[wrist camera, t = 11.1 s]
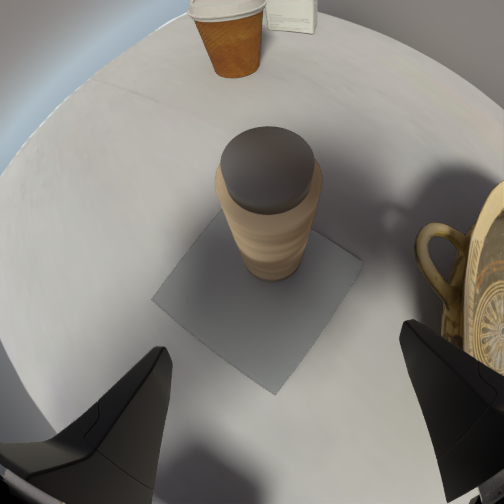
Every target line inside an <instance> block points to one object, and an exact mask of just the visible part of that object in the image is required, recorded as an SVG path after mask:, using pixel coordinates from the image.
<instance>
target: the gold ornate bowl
mask: <svg viewBox="0 0 504 504" xmlns="http://www.w3.org/2000/svg"><path fill="white" fill-rule="evenodd" d="M435 236H440V237H443V238H445V239H447V240H449V241H451V242H452V244H453V245H454V246H455V247H456V249H457V250H458V251H457V254H456V257H455V259H454V262H453V264H452V268H451V271H450V275H449V278H448V283H447V282H446V281H445V279H444V278H443V277H442V276H441V274H440V273H439V272H438V271H437V269H436V268H435V266H434V264H433V262H432V260H431V258H430V256H429V252H428V242H429V240H430V239H431V238H432V237H435ZM414 252H415V257H416V261H417V264H418V266H419V269H420V271H421V272H422V274H423V276H424V277H425V279H426V280H427V282H428V284H429V285H430V286H431V287H432V289H433V290H434V291H435V292H436V294H437V295H438V296H439V297H440V299H441V300H442V301H443V303H444V305H443V313H442V328H441V337H443V338H445V339H446V340H448V341H449V342H451V343H452V344H454V345H456V346H457V347H459V348H460V349H462V350H463V351H465V352H466V353H468V354H469V355H471V356H472V357H474V358H476V359H477V360H478V361H480V362H482V363H483V364H485V365H486V366H488V367H489V368H491V369H493V370H494V371H496V372H498V373H500V374H501V375H503V376H504V180H503V181H502V182H500V183H499V184H498V185H497V186H496V187H495V188H494V189H493V190H492V191H491V193H490V194H489V196H488V197H487V199H486V201H485V203H484V205H483V207H482V209H481V212H480V214H479V216H478V218H477V221H476V222H475V223H474V225H473V226H472V227H471V229H470V230H469V231H468V233H467V234H466V235H464V234H462V233H461V232H459V231H458V230H456V229H454V228H452V227H450V226H448V225H446V224H442V223H439V222H435V223H429V224H426V225H425V226H424V227H422V228H421V230H420V231H419V233H418V235H417V237H416V241H415V246H414Z"/></svg>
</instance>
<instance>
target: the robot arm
mask: <svg viewBox="0 0 504 504" xmlns="http://www.w3.org/2000/svg"><path fill="white" fill-rule="evenodd" d="M399 341H400V345H401V349H402V352H403V356H404V359H405V363H406V367H407V370H408V374H409V377H410V379H411V382H412V385H413V387H414V390H415V393H416V395H417V398H418V401H419V404H420V407H421V410H422V413H423V416H424V419H425V422H426V425H427V428H428V431H429V434H430V437H431V441H432V444H433V448H434V451H435V455H436V458H437V460H438V461H437V463H438V466H439V470H440V474H441V478H442V483H443V487H444V492H445V496H446V501H447V503H449V502H451V501H453V500H455V499H457V498H459V497H460V496H462V495H464V494H466V493H468V492H469V491H471V490H473V489H474V488H476V487H477V488H478V491H479V495H477V496H476V497H474V498H473V499H471V500H470V502H469V504H504V376H503V375H501V374H500V373H498V372H496V371H494V370H493V369H491V368H489V367H488V366H486V365H485V364H483V363H482V362H480V361H478V360H477V359H476V358H474V357H472V356H471V355H469V354H468V353H466V352H465V351H463V350H462V349H460V348H459V347H457V346H456V345H454V344H452V343H451V342H449V341H448V340H446V339H445V338H443V337H441V336H440V335H438V334H437V333H435V332H434V331H432V330H430V329H429V328H427V327H426V326H424V325H422V324H421V323H419V322H418V321H416V320H414V319H411V320H406V321H404V322H403V325H402V329H401V333H400V337H399ZM172 368H173V364H172V360H171V358H170V355H169V353H168V351H167V349H166V348H165V347H164V346H156V347H154V348H153V349H152V350H151V351H149V352H148V353H147V354H146V355H145V356H144V357H143V358H142V359H141V360H140V361H139V362H138V363H137V364H136V365H135V366H134V367H133V368H132V369H131V370H129V371H128V372H127V373H126V374H125V375H124V376H123V377H122V378H121V379H120V380H119V381H118V382H117V383H116V384H115V385H114V386H113V387H112V388H111V389H110V390H108V391H107V392H106V393H105V394H104V395H103V396H102V397H101V398H100V399H99V400H98V402H96V403H95V404H94V405H93V406H92V407H90V408H89V409H88V410H87V411H86V412H85V413H84V414H83V415H81V416H80V417H79V418H78V419H77V420H75V421H74V422H73V423H71V424H70V425H69V426H68V427H66V428H65V429H64V430H62V431H61V432H60V433H58V434H57V435H56V436H54V437H53V438H51V439H49V440H46V441H42V442H30V443H0V464H1V465H2V466H4V467H5V468H6V472H5V475H4V477H3V476H2V475H0V504H151V503H152V496H153V491H152V490H153V489H154V482H155V476H156V470H157V464H158V458H159V452H160V447H161V441H162V436H163V430H164V425H165V420H166V415H167V410H168V405H169V400H170V389H171V378H172Z"/></svg>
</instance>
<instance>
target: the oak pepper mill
mask: <svg viewBox="0 0 504 504" xmlns="http://www.w3.org/2000/svg"><path fill="white" fill-rule="evenodd" d="M215 189H216V193H217V196H218V198H219V201H220V203H221V206H222V209H223V211H224V214H225V216H226V219H227V221H228V224H229V226H230V229H231V231H232V234H233V236H234V239H235V242H236V244H237V247H238V249H239V252H240V254H241V257H242V259H243V262H244V264H245V266H246V268H247V269H248V271H249V272H250V273H251V274H252V275H253V276H255V277H256V278H258V279H261V280H264V281H268V282H276V281H281V280H284V279H286V278H288V277H290V276H291V275H292V274H293V273H294V272H295V271H296V270H297V269H298V267H299V265H300V263H301V260H302V257H303V253H304V250H305V247H306V243H307V240H308V236H309V233H310V229H311V226H312V222H313V219H314V215H315V211H316V208H317V204H318V200H319V196H320V193H321V189H322V173H321V170H320V167H319V164H318V163H317V161H316V159H315V158H314V155H313V152H312V150H311V148H310V146H309V145H308V144H307V142H306V141H305V140H304V139H303V138H301V137H300V136H299V135H297V134H296V133H294V132H292V131H290V130H287V129H284V128H279V127H270V126H266V127H257V128H253V129H250V130H247V131H245V132H243V133H241V134H239V135H237V136H236V137H235V138H234V139H232V140H231V141H230V142H229V143H228V145H227V146H226V148H225V149H224V151H223V154H222V156H221V162H220V164H219V166H218V168H217V171H216V175H215Z"/></svg>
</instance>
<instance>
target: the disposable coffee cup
mask: <svg viewBox="0 0 504 504" xmlns="http://www.w3.org/2000/svg"><path fill="white" fill-rule="evenodd" d="M266 3H267V0H191V1H190V3H189V9H188V11H187V13H188V15H189V16H190V17H191V18H192V19H193V20H194V22H195V24H196V27H197V29H198V31H199V33H200V36H201V38H202V40H203V43H204V45H205V48H206V50H207V53H208V55H209V57H210V60H211V62H212V65H213V67H214V69H215V72H216V73H217V74H218V75H219V76H222V77H226V78H239V77H244V76H247V75H250V74H252V73H254V72H255V71H256V70H257V69H258V67H259V58H260V44H261V32H262V18H263V9H264V8H265V5H266Z"/></svg>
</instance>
